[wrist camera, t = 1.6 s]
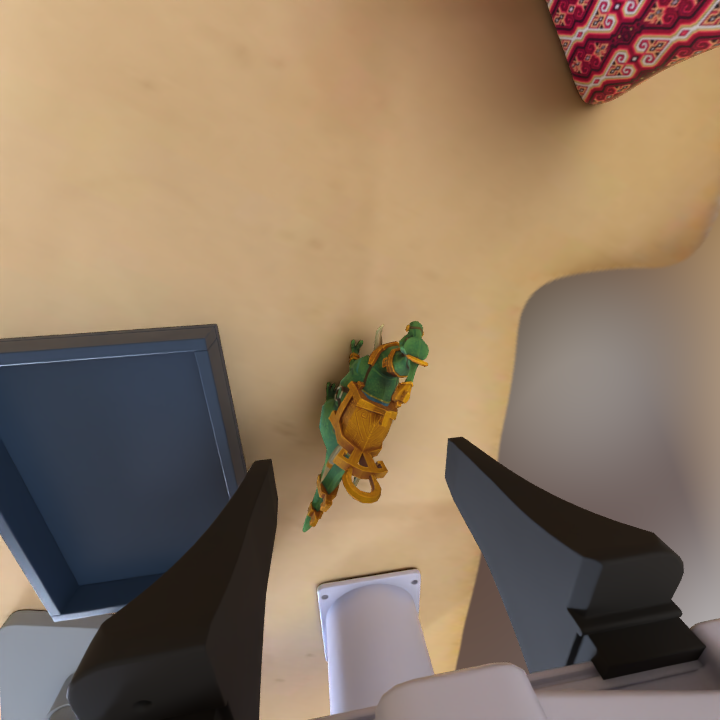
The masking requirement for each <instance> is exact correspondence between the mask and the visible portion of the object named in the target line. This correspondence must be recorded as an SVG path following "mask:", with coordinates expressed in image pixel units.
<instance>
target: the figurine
mask: <svg viewBox="0 0 720 720" xmlns="http://www.w3.org/2000/svg"><path fill="white" fill-rule="evenodd" d="M383 325H384V324H383ZM383 325H382V326H380V327H379V328H378V330H377V332H376V336H375V344H374V350H373V352H372V354H371V355H370V356H368V355H366V356H364V357H362V358H359V355H358V352H359V350H360V347H361V346H362V344H363V340H361V341H359V342H358V344H357V346H355V341H354V339H353V340H352V342H351V349H352V354H351V355H350V357H349V359H350V360H349V365H350V372H349V373H348V374H347V375H346V376H345V377H344V378H343V379H342V380H341V382H340V385H339V387H337V389H336V390H335V391H334V389H335V383H334V384H332V386H331V389H330V385H331V383H330V382H328V383H327V389H326V392H327V397H326V402H325V404H324V405H323V406H322V412H321V418H320V425H319V428H320V431H321V435H322V438H323V441H324V443H325V446H326V449H327V452H326V459H325V464H324V467H323V470H322V473H321V474H319V475H318V479H317V489H316V493H315V496H314V498H313V501H312V502H311V503H310V505H309V508H308V514H307V517H306V519H305V523H304V526H303V532H306V531H307V530H308V529H309V528H310V527H312V526H313V527H315V526H316V524H317V522H318V520H319V519H321V517H322V514H323V511H324V512H326V511H327V510H328V509H329V508H330V507H331V505H332V500H333V499H334V498H335V497H336V495H337V491H338V488H339V483H340V481H341V480H342V481H343V485H344V487H345V488H346V490H347V492H348V494H349V495H350V496H352V497H353V498H354V499H355V500H357V501H359V502H362V503H373V502H376V501H378V499H379V497H380V495H381V487H380V485H379V483H378V482H377V480H376V479H377V478H383V477H384V476H385V475H386V473H387V472H388V470H387V469H386V467H385V465H384V463H383V461H377V462H376V464H375V462H374V460H373V457H375V456H377V455H378V454H379V452H380V451H381V449H382V442H383V440H384V439H385V437H386V435H387V434H388V432H389V429H390V426H391V423H392V420H393V419H394V420H395V419H396V416H397V408H399V407H401V404H403V403H406V402H407V401H408V400H409V398H410V392H411V388H412V387H413V383H412V382H413V379H414V375H415V372H416V369H417V367H418V365H421V366H424V367H425V366H428V363H426V362H424V361H423V360H424V359H425V358H426V357H427V355H428V352H429V349H428V346H427V344H426V343H425V342H424V341H423V340H422V336H423V335H424V332H423V327H422V325H421V324H420V323H419V322H418V321H414V322H411V323H410V325H407V327H406V331H409V332H408V334H407V335H406V336H404V337H403V338H402V339H401V340H400V341H399V343H398V342H397V341H395V342H391V343H387V344H383V345H382V334H381V333H382V328H383ZM404 377H407V379H406V380H405V382H402V383H399V378H404ZM358 462H359V464H360V465H359V464H358ZM352 475H353V476H355V477H354V482H353V483H352V479H351V476H352ZM360 479H369V481H370V485H371V492H370V493H367V492H363V491H360V490H359V489H358V488H357V487H356V486H357V484H358V482H359V480H360Z"/></svg>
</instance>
